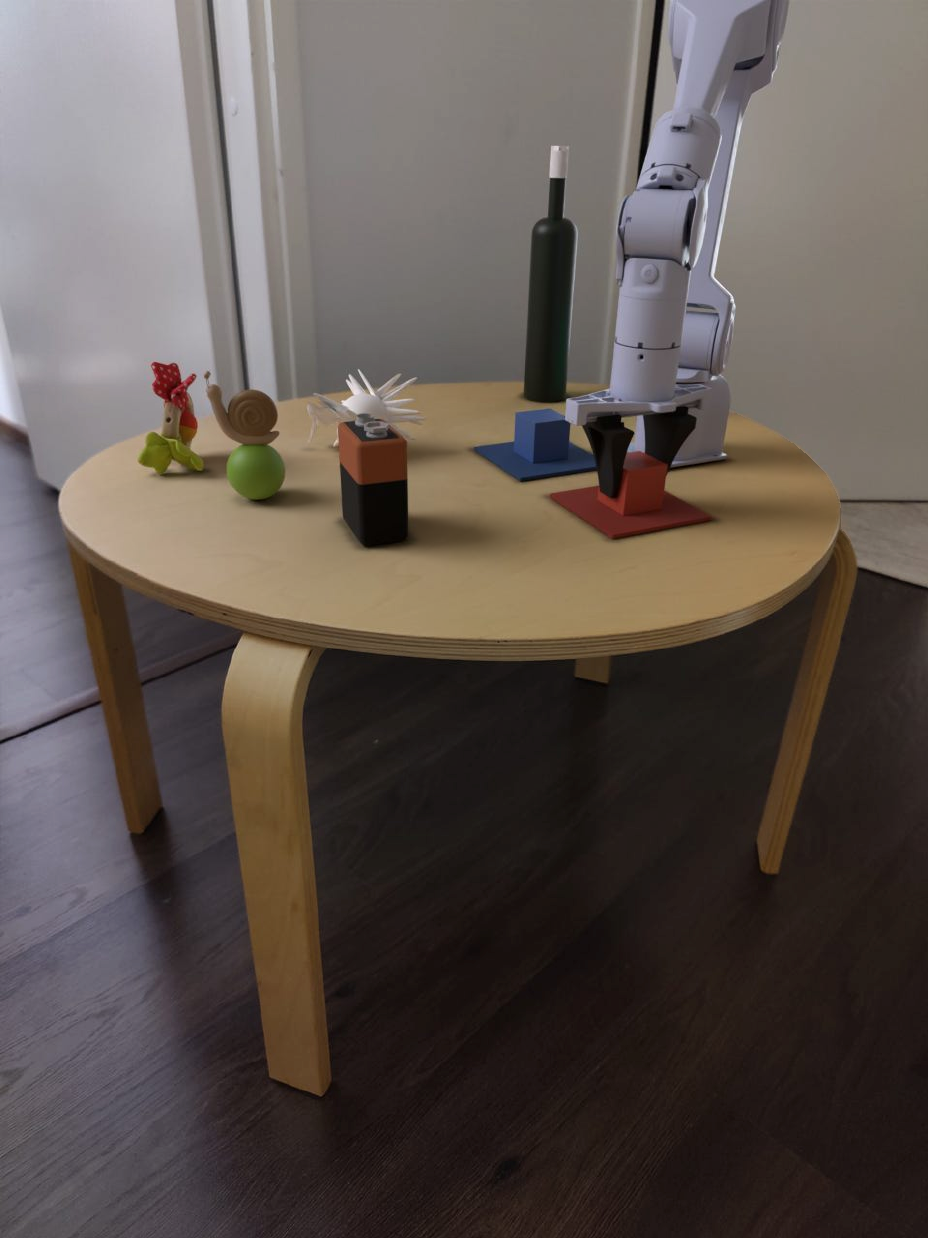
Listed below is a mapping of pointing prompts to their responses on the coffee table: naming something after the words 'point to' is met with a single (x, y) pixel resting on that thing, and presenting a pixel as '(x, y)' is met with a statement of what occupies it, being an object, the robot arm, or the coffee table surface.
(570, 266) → the wine bottle
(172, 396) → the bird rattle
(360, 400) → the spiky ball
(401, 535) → the battery
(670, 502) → the red mat
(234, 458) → the snail figurine
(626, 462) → the red block
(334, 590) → the coffee table surface
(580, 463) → the blue mat
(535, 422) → the blue block
